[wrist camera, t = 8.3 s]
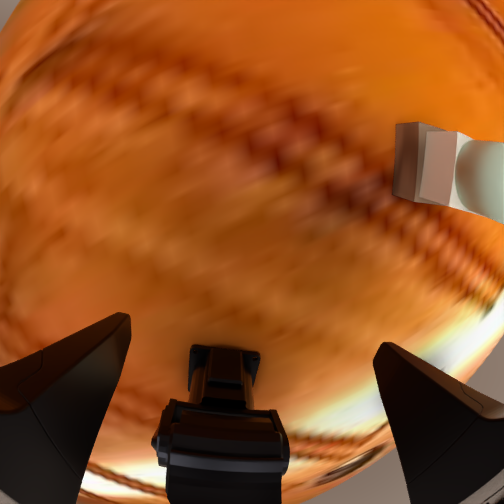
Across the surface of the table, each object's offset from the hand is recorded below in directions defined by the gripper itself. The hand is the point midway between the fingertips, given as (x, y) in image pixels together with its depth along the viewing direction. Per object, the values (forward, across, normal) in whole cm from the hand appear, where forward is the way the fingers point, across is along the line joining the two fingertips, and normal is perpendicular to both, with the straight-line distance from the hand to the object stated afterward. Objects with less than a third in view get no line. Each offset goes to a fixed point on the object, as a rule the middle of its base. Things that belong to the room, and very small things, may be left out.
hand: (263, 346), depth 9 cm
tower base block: (+13, -14, -9) cm, 21 cm away
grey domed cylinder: (+6, -14, -9) cm, 18 cm away
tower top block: (+10, -14, -9) cm, 19 cm away
